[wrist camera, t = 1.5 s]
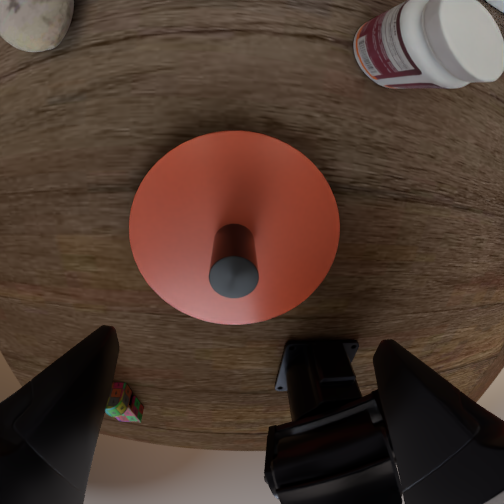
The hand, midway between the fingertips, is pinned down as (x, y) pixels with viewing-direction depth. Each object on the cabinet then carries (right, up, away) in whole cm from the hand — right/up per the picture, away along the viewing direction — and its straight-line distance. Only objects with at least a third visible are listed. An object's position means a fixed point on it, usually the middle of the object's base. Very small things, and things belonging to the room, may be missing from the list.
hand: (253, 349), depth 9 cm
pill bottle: (+8, +15, +5) cm, 18 cm away
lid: (-1, +4, +9) cm, 10 cm away
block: (-14, -13, +18) cm, 26 cm away
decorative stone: (-15, +21, 0) cm, 26 cm away
